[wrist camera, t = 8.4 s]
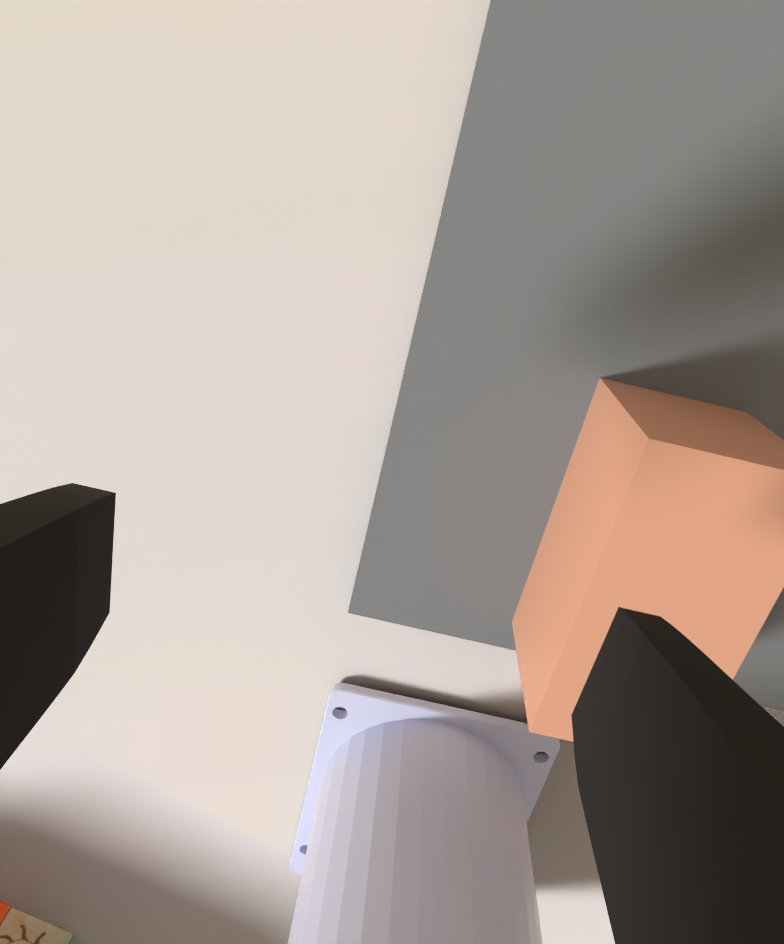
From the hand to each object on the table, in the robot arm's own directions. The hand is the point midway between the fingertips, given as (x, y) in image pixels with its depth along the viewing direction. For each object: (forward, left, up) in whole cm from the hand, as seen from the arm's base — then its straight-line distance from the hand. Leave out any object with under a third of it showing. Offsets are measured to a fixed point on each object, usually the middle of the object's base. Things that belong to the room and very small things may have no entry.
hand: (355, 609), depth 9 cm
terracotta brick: (-2, -7, -9) cm, 12 cm away
